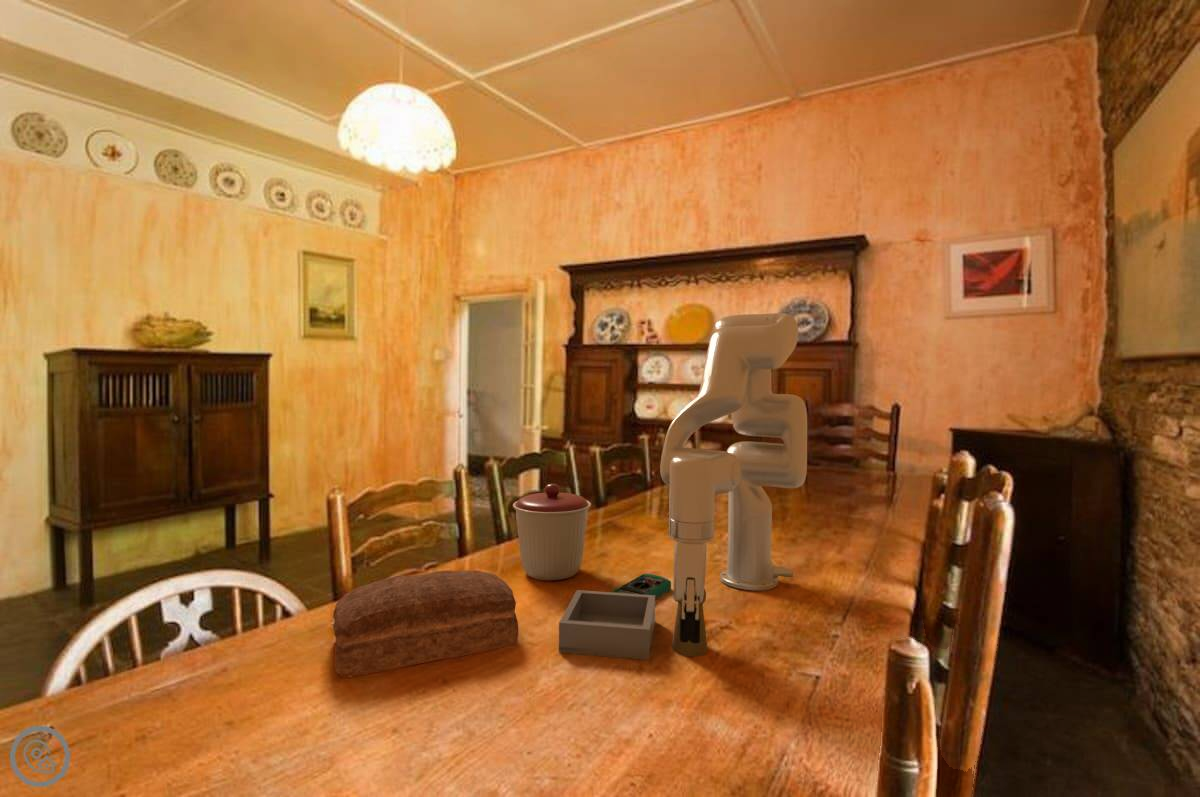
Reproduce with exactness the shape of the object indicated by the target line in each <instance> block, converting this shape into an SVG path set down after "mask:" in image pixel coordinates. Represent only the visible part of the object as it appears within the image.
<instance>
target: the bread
mask: <svg viewBox="0 0 1200 797" xmlns="http://www.w3.org/2000/svg"><path fill="white" fill-rule="evenodd" d="M516 605H517V602H516V599H515V595H514V592H513V589H512V588H511V587H510V585H508V584H507V582H506V581H504V579H502V578H500V577H498V576H497V575H496V574H493V573H491V572H485V571H480V570H474V569H473V570H472V569H471V570H469V569H468V570H467V569H466V570H463V569H461V570H460V569H459V570H456V569H455V570H451V569H450V570H448V569H446V570H438V571H432V572H428V573H423V574H411V575H397V576H391V577H388V578H384V579H381V580H378V581H374V582H371V583H369V584H365V585H362V586H358V587H356V588H354V589H353V590H351V591H348V592H347V593H345V594H344V595H343V596H341V597H340V599H339V600H338V601H337V602H336V604H335V607H334V610H333V615H332V617H333V620H334V622H333V626H332V627H333V635H334V636H335V648H334V661H335V662H334V664H335V673H337V674H338V675H340V676H341V675H342V676H341V677H342V678H343V679H345V678H344V677H347V678H351V677H350V676H352V677H357V676H361V675H366V674H373V673H379V672H385V671H390V670H393V669H394V670H395V669H401V668H404V667H409V666H413V665H418V664H419V665H420V664H423V663H428V662H432V661H438V660H445V659H450V658H457V657H462V656H467V655H471V654H472V655H473V654H476V653H477V654H478V653H482V652H488V651H491V650H492V651H493V650H497V649H501V648H505V647H509V646H512V645H515V644H516V643H517V641H518V639H519V631H520V630H519V622H518V617H517V614H516ZM356 675H357V676H356Z"/></svg>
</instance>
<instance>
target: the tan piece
mask: <svg viewBox="0 0 1200 797" xmlns="http://www.w3.org/2000/svg"><path fill="white" fill-rule="evenodd" d="M686 586H687V582H686ZM694 587H695V582H694ZM706 598H707V591H706V589H705V587H704V595H703V601H702V602H701V603H699V618H700V642H699V643H692V642H691V641H689V640H688V642H681V641H680V617H682V599H681V600H677V603H678V604H677V608H676V609H677V610H676V615H675V623H674V629H673V636H672V642H671V648H672V650H673V651H674V652H675V653H676V654H677V655H678V654H679V655H680V656H681V655H682V656H685V657H686V656H687V657H701V656H703V655H705V654H706V653H707V652H708V650H709V649H708V648H709V647H708V641H707V640H708V639H707V631H706V625H705V624H706V623H705V614H704V613H705V612H704V607H703V605H704V603H705V602H706ZM684 599H687V596H685V592H684ZM694 600H697V592H696V597H694ZM685 607H687V604H685ZM694 607H695V608H696V604H694Z"/></svg>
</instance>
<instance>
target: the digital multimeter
mask: <svg viewBox="0 0 1200 797" xmlns="http://www.w3.org/2000/svg"><path fill="white" fill-rule="evenodd" d="M671 590H672V581H671V580H670V579H668V578H666V577H663V576H660V575H656V574H651V573H643V574H641V575H639V576H637V577H635V578H634V579H632V580H630V581H628V582H627V583H625V584H623V585H620V586H619V587H617V588H615V589H613V590H612V591H611V592H613V593H627V594H642V595H655V600H656V599H658V598H659V597H661V596H662V595H664V594H666V593H667V592H670V591H671Z"/></svg>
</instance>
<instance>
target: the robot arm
mask: <svg viewBox="0 0 1200 797" xmlns="http://www.w3.org/2000/svg"><path fill="white" fill-rule="evenodd" d="M713 331H714V332H713V334H712V335H711V337H710V339H709V342H708V346H707V347H708V348H707V352H706V357H705V362H704V367H703V370H702V371H703V373H702V377H701V381H700V382H701V383H700V387H699V391H698V395H697V396H696V397H695V398H694V399H693V400H691V401H690V402H689V403H687V405H685V407H683V409H682V410H681V411H679V413H678V414H677V415H676V417H675V418H674V419H673V420H672V422H671V423H670V425H669V427H668V429H667V431H666V435H665V439H664V444H663V448H662V452H661V458H660V468H659V469H660V470H659V472H660V476H661V479H662V481H663V483H664V484H665V485H666V486H668V487H669V495H668V497H669V498H668V499H669V505H668V507H669V508H668V512H669V513H668V514H669V515H668V516H669V518H668V538H669V539H671V540H673V541H674V549H673V550H674V551H673V591H672V592H673V596H672V597H673V598H672V599H673V600H674V602H677V600H681V599H682V617H680V641H681V642H688V640H689V641H691V642H692V643H699V642H700V618H699V603H701V602H702V601H703V595H704V588H705V584H706V574H707V572H706V571H707V570H706V569H707V543H710V542H712V541H714V539H715V495H723V494H727V493H728V496H727V497H728V503H727V504H728V505H727V506H728V508H727V509H728V510H727V511H728V513H727V514H728V516H727V519H728V520H727V565H726V566H727V567H726V568H725V569H724V570H723V569H722V571H721V572H720V574H719V578H720V581H721V582H722V583H724V584H725V585H726V586H729V587H732V588H734V589H735V588H736V589H739V590H745V591H767V590H771V589H774V588H775V587H777V586H778V583H779V577H784V578H794V571H793V568H788V567H786V566H785V565H775V564H774V563H773V561H772V531H773V530H772V527H773V526H772V525H773V523H772V522H773V519H772V518H773V507H772V506H773V505H772V501H771V499H770V497H769V496H768V494H767V492H765V490H764V488H763V487H772V488H773V487H775V488H783V489H784V488H785V489H797V488H800V487H801V486H803V485H804V483H805V481H806V477H807V470H808V468H807V467H808V411H807V406H806V404H805V401H804V400H803V399H802V398H801V397H800V396H798V395H795V394H787V393H773V391H772V370H777V369H779V368H781V367H782V366H784V364H785V363H786V361H787V360H788V359H789V357H790V356H791V355H792V354H793V352H794V350H795V349H796V347H797V343H798V341H799V325H798V322H797V319H796V318H795V317H794V316H793V315H792V314H790V313H785V312H783V313H782V312H780V313H779V312H778V313H777V312H776V313H756V314H755V313H750V314H748V313H747V314H735V315H728V316H724V317H722V318H720V319H718V320H717V321H716V323H715V325H714V330H713ZM729 415H731V418H732V420H731V421H732V426H733V429H734V430H735V432H736V433H738V434H740V435H744V436H750V437H764V438H765V437H766V438H767V437H768V438H779V439H781V440H782V441H783V443H776V442H774V443H773V442H772V443H771V442H762V441H748V440H747V441H739V442H735V443H733V444H731V445H730V446H729V447H728V448H727V450H726V451H723V450H716V449H715V450H712V449H705V448H704V449H703V448H691V447H686V445H687V442H688V440H689V439H690V437H691V436H692V435H693V433H694V432H695V431H698V429H700V428H701V427H703V426H705V425H706V424H707V425H708V424H709V423H712V422H714V421H716V420H718V419H721V418H723V417H726V416H729ZM686 582H687V586H686ZM694 582H695V587H694ZM684 592H685V596H687V599H684ZM696 592H697V600H694V597H696ZM677 603H678V602H677ZM685 604H687V607H685ZM694 604H696V608H695V607H694Z"/></svg>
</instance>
